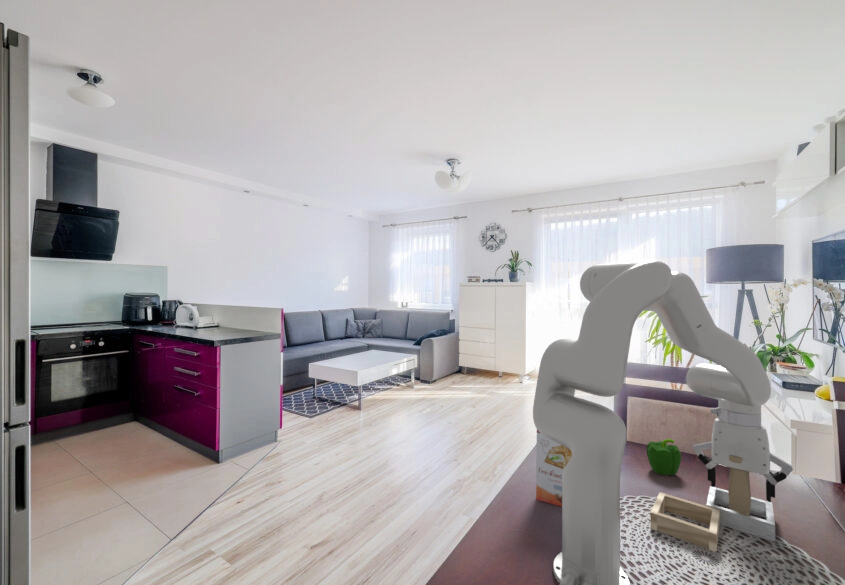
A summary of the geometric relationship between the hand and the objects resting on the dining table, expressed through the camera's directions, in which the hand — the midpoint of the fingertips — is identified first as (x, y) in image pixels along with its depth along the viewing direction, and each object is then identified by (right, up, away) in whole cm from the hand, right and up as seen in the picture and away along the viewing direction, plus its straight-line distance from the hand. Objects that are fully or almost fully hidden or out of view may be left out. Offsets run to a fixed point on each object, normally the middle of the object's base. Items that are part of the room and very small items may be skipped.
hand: (740, 491), depth 85 cm
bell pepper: (-3, -7, +22) cm, 23 cm away
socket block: (0, -6, 0) cm, 6 cm away
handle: (0, -6, 0) cm, 6 cm away
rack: (-15, -6, -3) cm, 16 cm away
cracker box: (-38, -6, +6) cm, 38 cm away
